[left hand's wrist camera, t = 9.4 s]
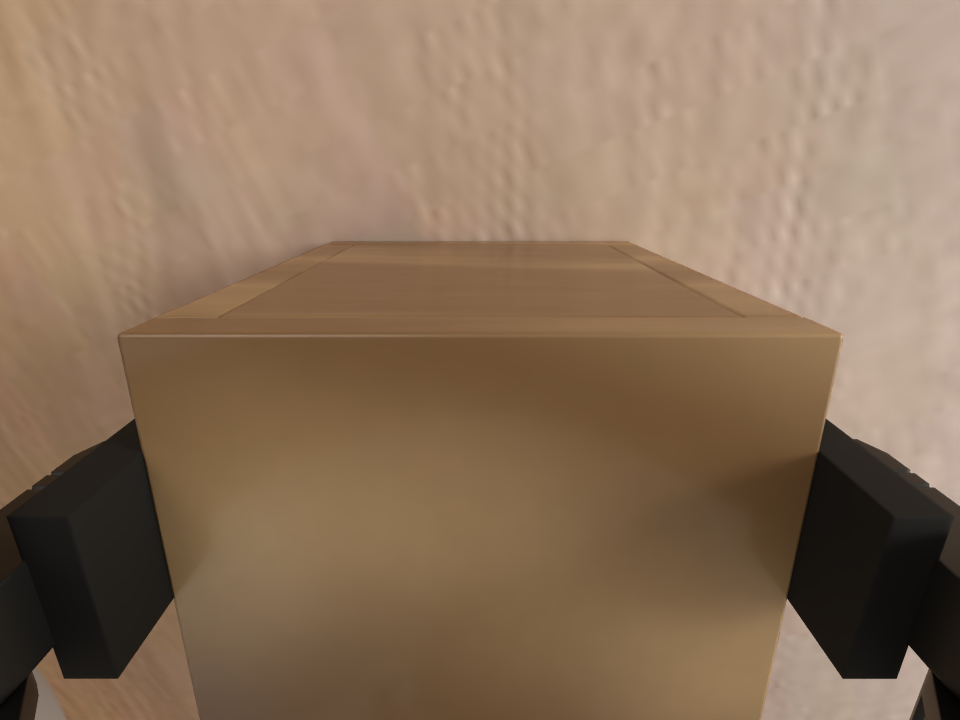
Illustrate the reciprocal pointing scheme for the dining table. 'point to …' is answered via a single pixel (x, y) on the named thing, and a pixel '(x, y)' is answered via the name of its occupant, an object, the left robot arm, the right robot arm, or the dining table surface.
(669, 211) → the dining table surface
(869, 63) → the dining table surface
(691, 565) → the cabinet
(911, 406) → the dining table surface
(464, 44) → the dining table surface
